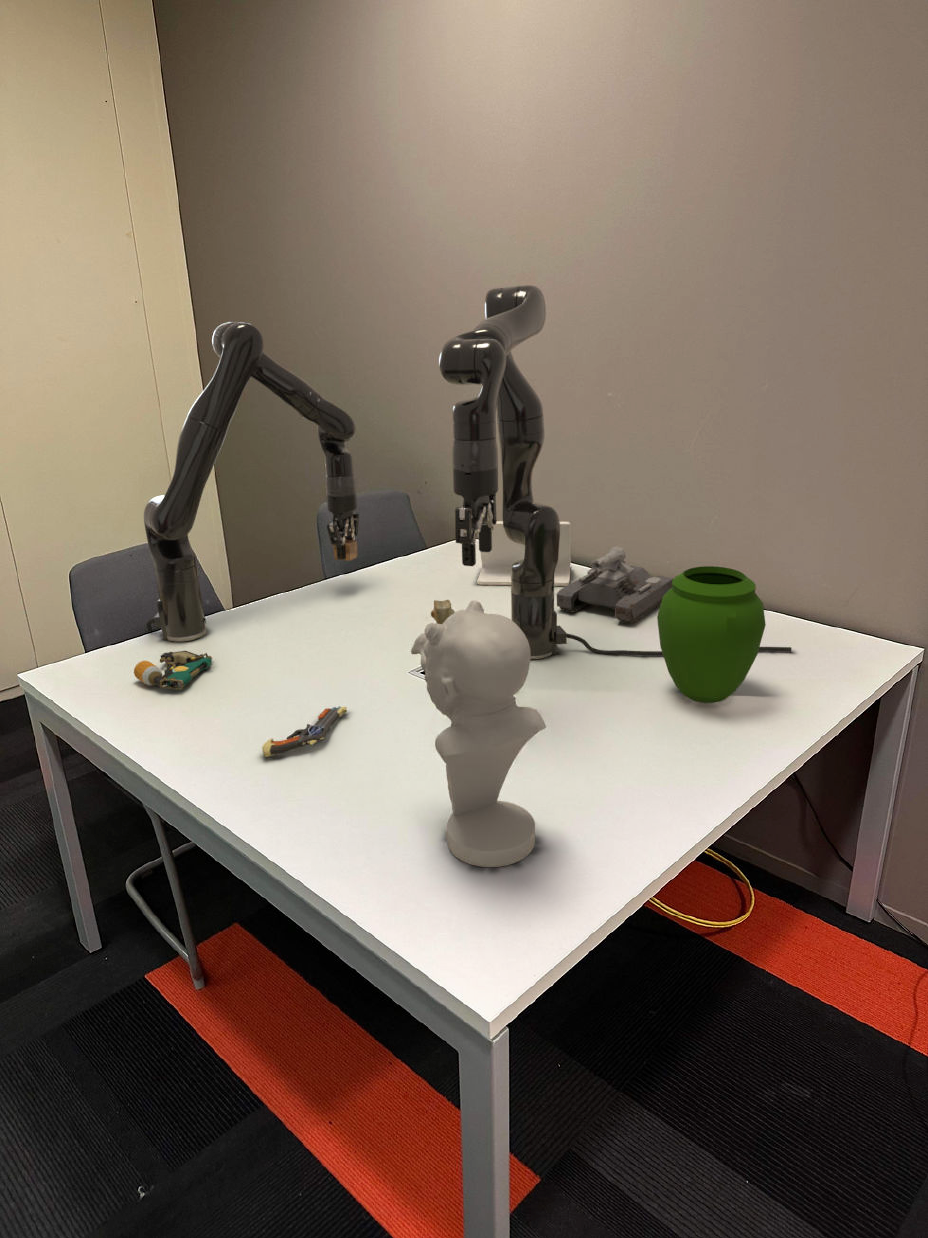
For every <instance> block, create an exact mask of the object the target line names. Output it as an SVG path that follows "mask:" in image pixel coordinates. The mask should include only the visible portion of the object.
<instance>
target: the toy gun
mask: <svg viewBox="0 0 928 1238" xmlns="http://www.w3.org/2000/svg"><path fill="white" fill-rule="evenodd" d="M347 708H348V707H347V706H340V705H339V706H337V707H336V706H333V707H332V708H325V709H324V710H323V711H322V712H321V713H320V714H319V715H318V716H317V721H316V722H315V723H314V724H309V723H307V724H306V727H305V728H302V729H295V730H294V732H293V733H291V734H290V735H288V736H287V737H286V739H283V740H274V739H273V738H269V740H266V742H264V743H263V745H262V747H261V748H262V749H261V750H262V754H263V756H264V757H267V758H268V757H272V756H275V755H276V756H277V755H280V754H283V753H287V752H290V751H293V750H298V749H300V748H303V747H306V746H309V745H310V746H313V745H314V744H316V743H318V742H319V741H321V740H324V738H325V737H327V735H328V733H329V732H330V731H331V729H332V727H333V725H334V724H335V723H336V722H337V721H338V720H339V718H341V717H342V715H344V714H347V712H348V709H347Z"/></svg>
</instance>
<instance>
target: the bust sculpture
mask: <svg viewBox="0 0 928 1238" xmlns="http://www.w3.org/2000/svg"><path fill="white" fill-rule="evenodd" d="M454 612H455V613H453V614H452V615H451V616H450V617H448V618H447V619H446V620H445V622H444V623H443V624H436V623H435V622H430V623H428V624H427V625H426V626H425V628H424V632H423V633H421V634H419V635H418V636H417V637H416V638H415V640H414V642H413V645H412V647H411V649H410V654H412V655H420V667H421V669H422V670H423V672H424V681H425V682H426V690H427V693H428V696H429V698H430V701H431V702H432V704H434V706H435V708H436V710H438V711H439V712H440V713H441V714H442V716H446V717H447V718H448V719H449V720H450V726H448V727H446V728H445V729H443V730H442V731H441V732H440V733H439V734H438V735H436V738H435V741H434V748H435V749H436V752H437V753H438V755H439V757H440V758H441V760H442V761H443V762H444V763H445V771H446V781H447V790H448V796H449V800H450V803H451V810H452V813H451V814H450V815H449V817H448V819H447V822H446V844H447V847H448V849H449V851H450V852H451V854H452V855H453V856H454V857H456V858H457V859H459V860H460V861H462V862H463V863H466V864H469V865H471V866H476V867H483V868H498V867H505V866H509V865H512V864H517V862H520V861H521V860H523V859H525V858H527V856H528V855H530V854H531V852H532V851H533V849H535V848H534V847H535V845H536V822H535V821H536V820H535V819H534V817H533V816H532V814H531V813H530V812H529V811H528V810H526V809H525V808H524V807H522V806H520V805H517V804H515V803H513V802H509V801H504V800H499V796H500V793H501V790H502V788H503V785H504V783H505V780H506V778H507V776H508V773H509V771H510V769H511V768H512V765H513V763H514V761H515V760H516V759H517V756H518V755H519V753H520V752H521V750H522V749H523V748H524V747H525V745H526V744H527V743H528V742H529V741H530V740H531V739H532V738H533V737H535V735H537V734H538V733H539V732H541V731H544V730H545V729H546V728H547V725H546V723H545V720H544V718H543V717H542V714H541V713H540V712H539V711H538V710H537V709H535V708H533V707H530V706H518V705H517V701H516V699H517V698H516V696H515V695H516V694H517V693H519V691H521V689H522V688H523V686H524V684H525V683H526V680H527V678H528V675H529V669H530V666H531V659H530V656H531V655H530V653H531V652H530V646H529V643H528V640H527V638H526V636H525V634H524V633H523V632H522V630H521V629H520V628H519V627H518V626H517V625H516V624H515V623H514V622H513V621H512V620H511V618H508V617H507V616H504V615H503V614H502V615H501V614H496V613H485V609H484V607H483V605H482V603H481V602H480V601H478V600H473V599H472V600H470V601H469V603H468V605H467V607H466V609H460V610H457V611H454Z"/></svg>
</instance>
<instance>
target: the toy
mask: <svg viewBox="0 0 928 1238" xmlns="http://www.w3.org/2000/svg"><path fill="white" fill-rule="evenodd" d="M626 557H627V556H626V551H625V549H624V548H622V547H621V546H614V547H612V548H611V549H610V550H609V552H608V553H607V554H605V555H604V556H601V557H599V558H598V559H597V557H596V558H594V559H593V560H592V561H590V562H589V563H590V564H591V565H592V567H591V568H590V569H589V570H587V573H586V575H584V576H582V577H580V578H578V579H577V580H575V581H573V582H570V583H569V585H567V586H563V587H562V588H560V589H559V590H558V591H557V592H556V607H558V608H559V609H560V610H562V611H566V612H572V613H575V612H577V611H579V610H581V609H582V608H585V607H586V606H588V605H592V606H598V607H602V608H603V607H604V608H609V609H613V610H614V618H615V619H617V620H618V621H621V622H626V623H631V624H634V623H635V622H637V621H638V620H640V619H641V618H642V617H644V616H645V615H647V614H648V613H650V612H651V611H652V610H654V609H655V608H657V607H659V606H660V605H661V602H662V598H663V596H664V595H665V593H666V592H667V591H669V590H670V589H671V588H672V580H673V579H674V578H675V577H668V576H663V575H656V576H655V577H654V576H651V574H650V573H649V572H648V571H647V570H646V568H644V567H641V566H635V565H629V564H628V563H627V562H626V561H625V559H626Z"/></svg>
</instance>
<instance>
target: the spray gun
mask: <svg viewBox="0 0 928 1238" xmlns="http://www.w3.org/2000/svg"><path fill="white" fill-rule="evenodd" d="M212 660H213V657H212V656H211V655H208V653H207V652H205V653H201V654H197V653H194V652H192V651H191V652H190V651H188V650H180V651H169V652H164V653H162V654H161V655H160V658H159V660H158V662H159V663H161V664H163V663H165V664H166V668H165V670H163V672H164V674H163V673H162V669H160V668H159V666H157V665H156V664H154V663H152V662H151V661H149V660H141V661H139V662H138V663H136V665H135V666H134V668H133V675H134V677H135V678H136V679H137V680H139V681H140V682H142V683H143V684H145V685H147V686H155V685H157V686H158V687H160V688H161V689H171V690H172V689H173V690H182V689H184V687H185V686H186V685H188V684H189V683H190V682H191V681H192V679H193V678H195V677H196V676H197V675H198V674H200V673H201V672H202V671H203V670H206V669H208V668H209V667H210V666H211V665H212V662H213V661H212ZM178 663H179V664H181V665H179V666H176V665H177V664H178Z"/></svg>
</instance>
